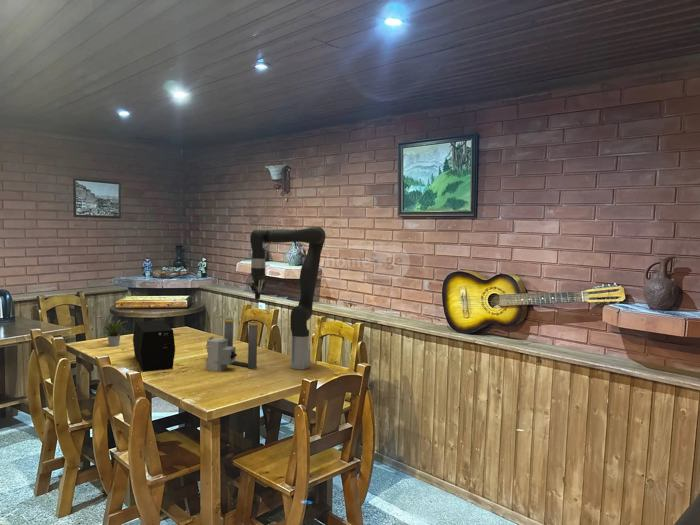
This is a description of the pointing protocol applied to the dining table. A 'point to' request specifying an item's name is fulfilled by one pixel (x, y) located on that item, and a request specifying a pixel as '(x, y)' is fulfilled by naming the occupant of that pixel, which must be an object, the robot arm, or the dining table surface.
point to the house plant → (113, 334)
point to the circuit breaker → (219, 354)
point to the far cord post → (229, 331)
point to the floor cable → (240, 363)
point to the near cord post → (252, 345)
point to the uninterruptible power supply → (154, 345)
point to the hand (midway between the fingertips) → (257, 299)
